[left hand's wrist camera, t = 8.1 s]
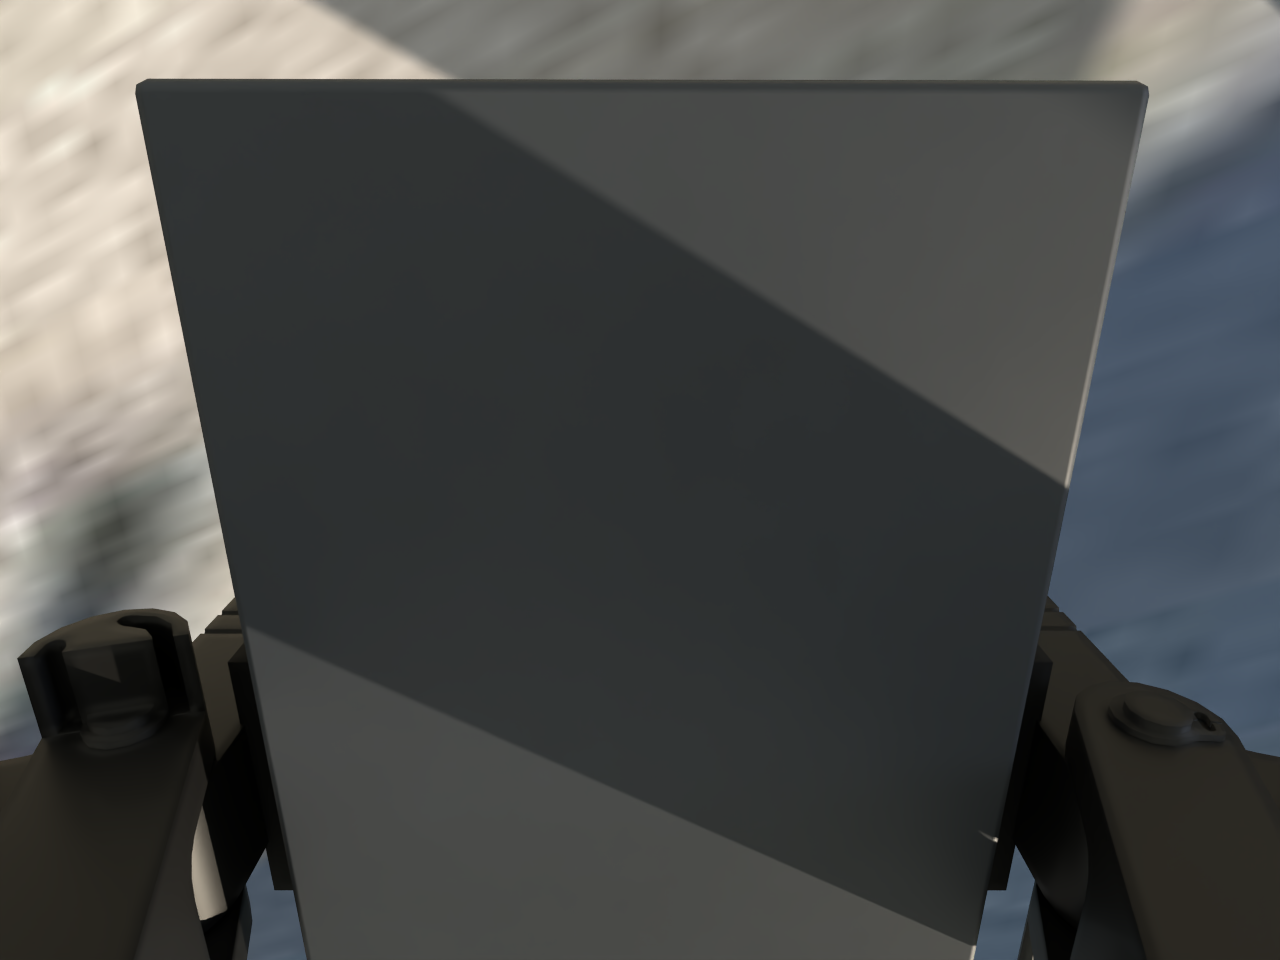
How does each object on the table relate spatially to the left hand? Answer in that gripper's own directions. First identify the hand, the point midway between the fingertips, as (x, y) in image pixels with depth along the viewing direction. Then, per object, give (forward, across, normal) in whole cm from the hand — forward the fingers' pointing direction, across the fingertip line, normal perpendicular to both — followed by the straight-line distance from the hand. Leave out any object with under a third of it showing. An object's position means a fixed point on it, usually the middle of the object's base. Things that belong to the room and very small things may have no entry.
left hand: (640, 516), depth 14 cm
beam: (+1, 0, -27) cm, 27 cm away
